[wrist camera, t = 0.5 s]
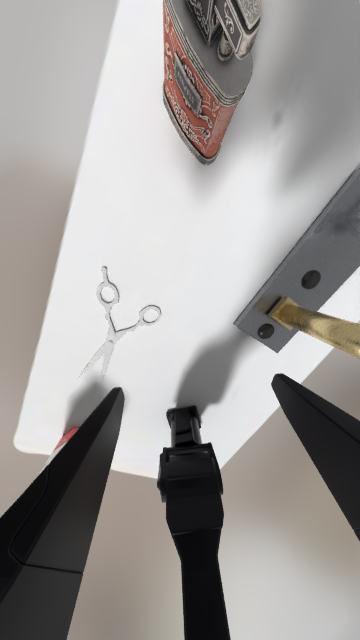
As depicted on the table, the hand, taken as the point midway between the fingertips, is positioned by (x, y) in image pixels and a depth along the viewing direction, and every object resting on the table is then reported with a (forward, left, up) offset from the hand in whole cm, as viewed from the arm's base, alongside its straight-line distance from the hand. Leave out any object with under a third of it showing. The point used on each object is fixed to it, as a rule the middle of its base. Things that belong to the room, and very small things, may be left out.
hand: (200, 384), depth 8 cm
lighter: (+21, -6, -16) cm, 27 cm away
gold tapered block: (-4, -16, -14) cm, 22 cm away
